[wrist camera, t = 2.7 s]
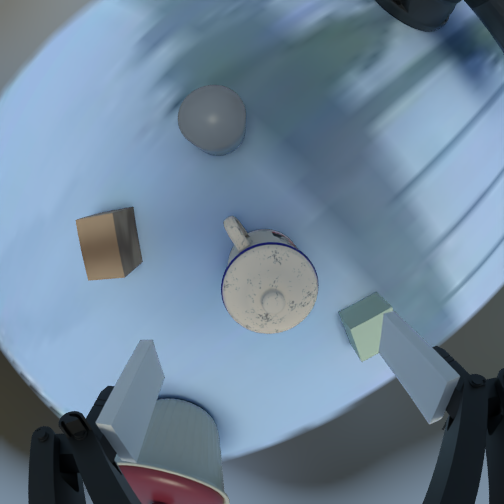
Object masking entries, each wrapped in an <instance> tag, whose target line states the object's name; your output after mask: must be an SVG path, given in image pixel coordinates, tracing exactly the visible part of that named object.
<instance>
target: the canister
mask: <svg viewBox="0 0 504 504" xmlns="http://www.w3.org/2000/svg"><path fill="white" fill-rule="evenodd" d="M114 460H115V461H116V463H117V464H118V466H119V468H120V470H121V471H122V473H123V475H124V477H125V478H126V480H127V482H128V483H129V485H130V486H131V488H132V490H133V491H134V493H135V494H136V496H137V497H138V499H139V500H140V502H141V503H142V504H229V502H230V501H229V498H228V496H227V494H226V493H225V492H224V483H223V474H222V462H221V451H220V442H219V434H218V430H217V426H216V424H215V422H214V420H213V419H212V417H210V415H209V414H208V413H206V411H205V410H203V409H201V408H200V407H198V406H196V405H195V404H192V403H190V402H186V401H184V400H179V399H173V398H172V399H169V398H166V399H160V400H157V401H156V404H155V407H154V410H153V413H152V416H151V419H150V422H149V425H148V428H147V431H146V434H145V437H144V441H143V444H142V447H141V450H140V453H139V457H138V460H137V463H133V462H127V461H122V460H121V459H120V458H119V456H118V455H117V454H116V457H115V459H114Z"/></svg>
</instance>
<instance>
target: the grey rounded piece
mask: <svg viewBox="0 0 504 504" xmlns="http://www.w3.org/2000/svg"><path fill="white" fill-rule="evenodd" d="M245 123H246V111H245V106H244V103H243V101H242V99H241V98H240V97H239V95H238V94H237V93H235V92H234V91H233V90H231V89H229V88H227V87H224V86H220V85H207V86H203V87H200V88H198V89H196V90H194V91H193V92H191V93H190V94H189V95H188V96H187V97H186V98H185V99H184V101H183V102H182V104H181V106H180V109H179V112H178V125H179V128H180V130H181V132H182V134H183V135H184V137H185V138H186V139H187V140H188V141H190V142H191V143H192V144H194V145H195V146H197V147H198V148H200V149H201V150H203V151H204V152H206V153H208V154H211V155H216V156H221V155H226V154H229V153H231V152H233V151H234V150H236V149H237V148H238V147H239V146H240V144H241V143H242V141H243V139H244V136H245Z"/></svg>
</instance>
